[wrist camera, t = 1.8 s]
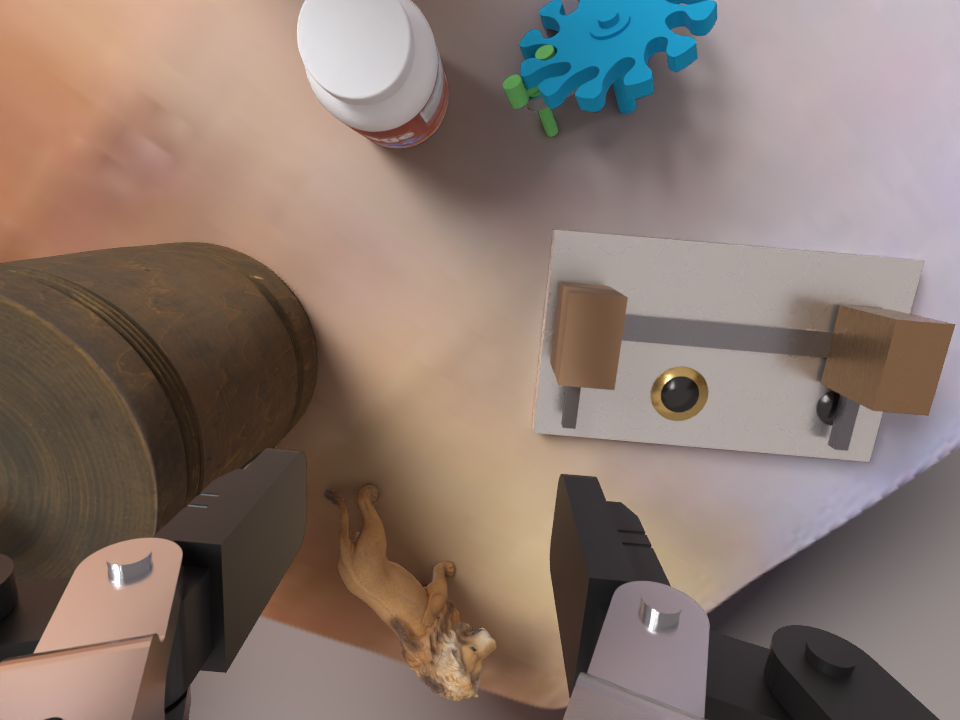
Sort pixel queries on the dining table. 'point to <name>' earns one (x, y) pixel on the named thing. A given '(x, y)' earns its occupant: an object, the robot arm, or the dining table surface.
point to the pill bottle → (375, 67)
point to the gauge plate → (746, 346)
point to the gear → (603, 52)
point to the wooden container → (136, 390)
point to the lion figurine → (412, 606)
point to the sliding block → (586, 341)
